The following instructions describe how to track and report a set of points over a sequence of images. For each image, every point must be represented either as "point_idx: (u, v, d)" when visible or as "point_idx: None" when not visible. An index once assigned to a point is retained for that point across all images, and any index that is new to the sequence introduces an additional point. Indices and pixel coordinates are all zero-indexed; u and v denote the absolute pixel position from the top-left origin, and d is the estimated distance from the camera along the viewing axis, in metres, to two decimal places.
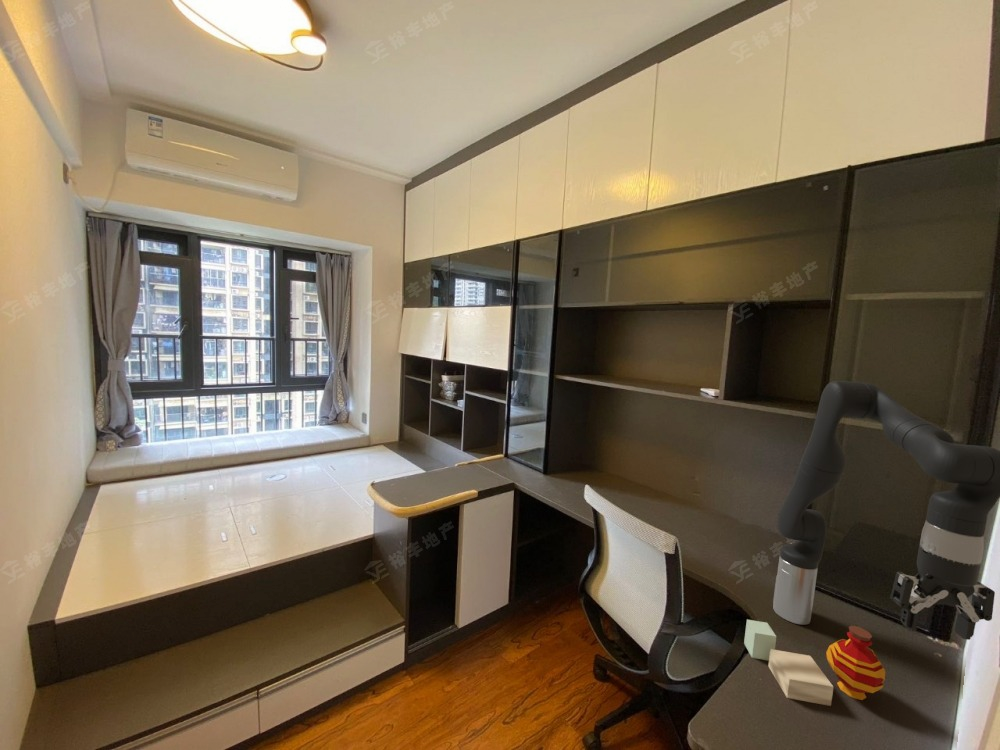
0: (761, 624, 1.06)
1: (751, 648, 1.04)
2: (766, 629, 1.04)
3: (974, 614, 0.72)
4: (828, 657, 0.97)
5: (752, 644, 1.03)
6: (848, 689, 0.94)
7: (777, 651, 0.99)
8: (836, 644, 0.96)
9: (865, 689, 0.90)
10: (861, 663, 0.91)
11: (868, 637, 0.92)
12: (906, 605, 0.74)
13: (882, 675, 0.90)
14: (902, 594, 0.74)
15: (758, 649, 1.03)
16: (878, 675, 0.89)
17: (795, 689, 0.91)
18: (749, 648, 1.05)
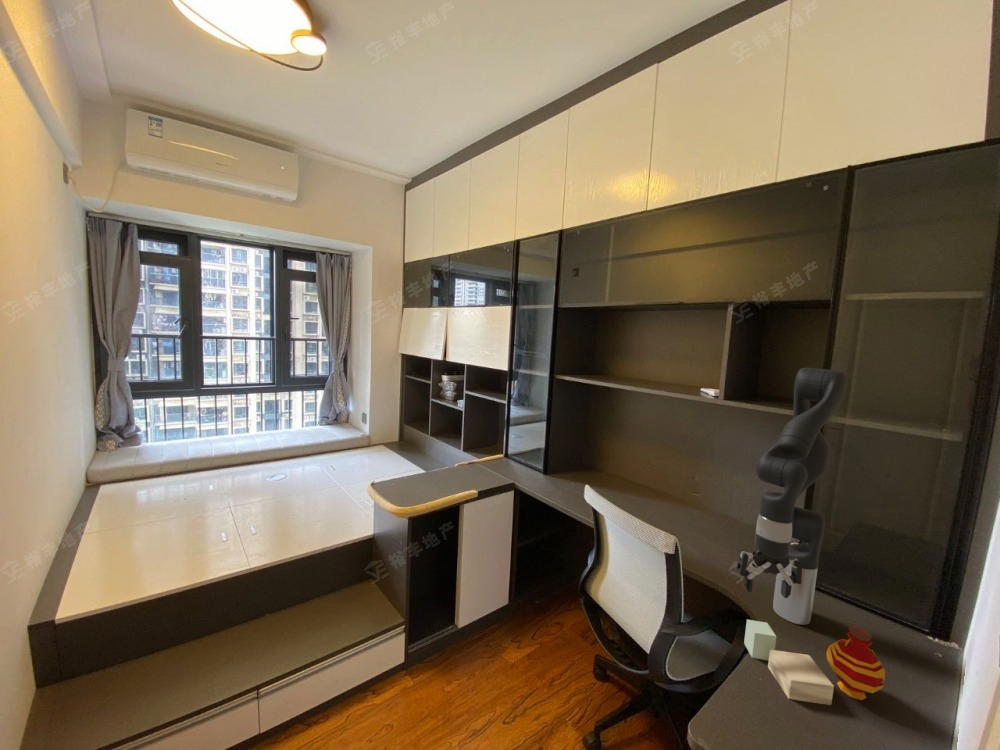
0: (761, 624, 1.06)
1: (751, 648, 1.04)
2: (766, 629, 1.04)
3: (789, 579, 1.01)
4: (828, 657, 0.97)
5: (752, 644, 1.03)
6: (848, 689, 0.94)
7: (776, 651, 0.99)
8: (836, 644, 0.96)
9: (865, 689, 0.90)
10: (861, 663, 0.91)
11: (868, 637, 0.92)
12: (744, 573, 1.03)
13: (882, 675, 0.90)
14: (741, 565, 1.03)
15: (758, 649, 1.03)
16: (878, 675, 0.89)
17: (797, 690, 0.91)
18: (749, 648, 1.05)
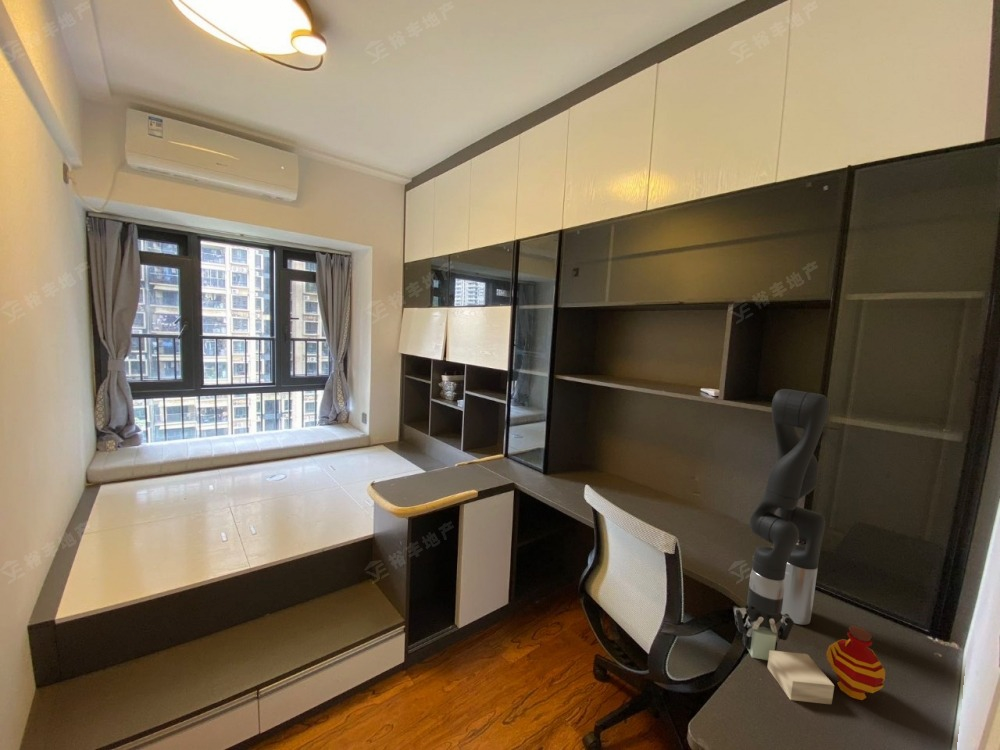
0: None
1: (751, 648, 1.04)
2: (766, 629, 1.04)
3: (776, 635, 1.03)
4: (828, 657, 0.97)
5: (752, 644, 1.03)
6: (848, 689, 0.94)
7: (776, 652, 0.99)
8: (836, 644, 0.96)
9: (865, 689, 0.90)
10: (861, 663, 0.91)
11: (868, 637, 0.92)
12: (743, 631, 1.04)
13: (882, 675, 0.90)
14: (738, 623, 1.04)
15: (758, 649, 1.03)
16: (878, 675, 0.89)
17: (798, 690, 0.91)
18: None
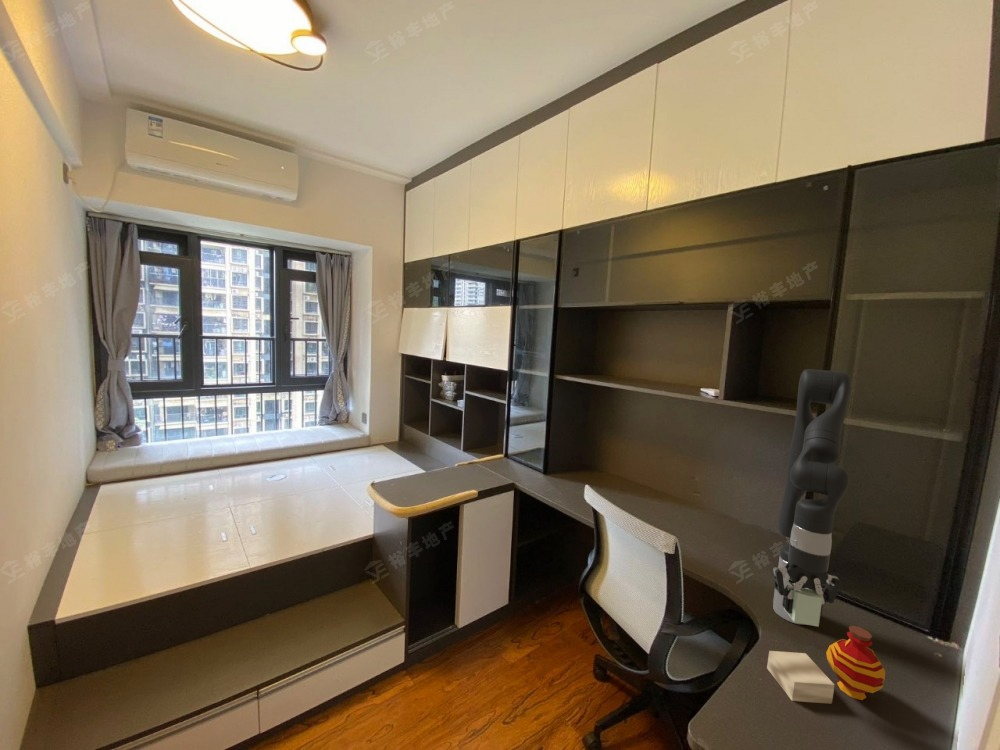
0: None
1: (793, 612, 0.93)
2: (810, 591, 0.93)
3: (822, 598, 0.92)
4: (828, 657, 0.97)
5: (794, 607, 0.93)
6: (848, 689, 0.94)
7: (776, 652, 0.99)
8: (836, 644, 0.96)
9: (865, 689, 0.90)
10: (861, 663, 0.91)
11: (868, 637, 0.92)
12: (784, 592, 0.94)
13: (882, 675, 0.90)
14: (778, 584, 0.94)
15: (802, 613, 0.92)
16: (878, 675, 0.89)
17: (799, 691, 0.91)
18: None
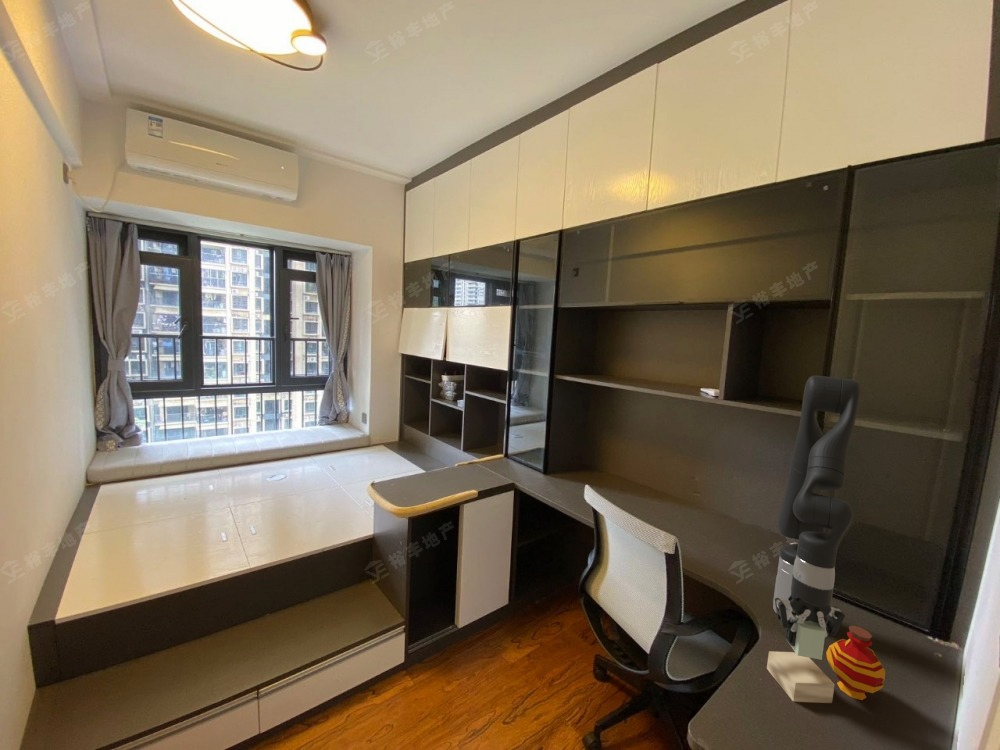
0: None
1: (796, 645, 0.93)
2: (813, 623, 0.93)
3: (825, 630, 0.92)
4: (828, 657, 0.97)
5: (798, 640, 0.93)
6: (848, 689, 0.94)
7: (775, 652, 0.99)
8: (836, 644, 0.96)
9: (865, 689, 0.90)
10: (861, 663, 0.91)
11: (868, 637, 0.92)
12: (787, 625, 0.93)
13: (882, 675, 0.90)
14: (781, 617, 0.94)
15: (805, 646, 0.92)
16: (878, 675, 0.89)
17: (800, 692, 0.91)
18: None
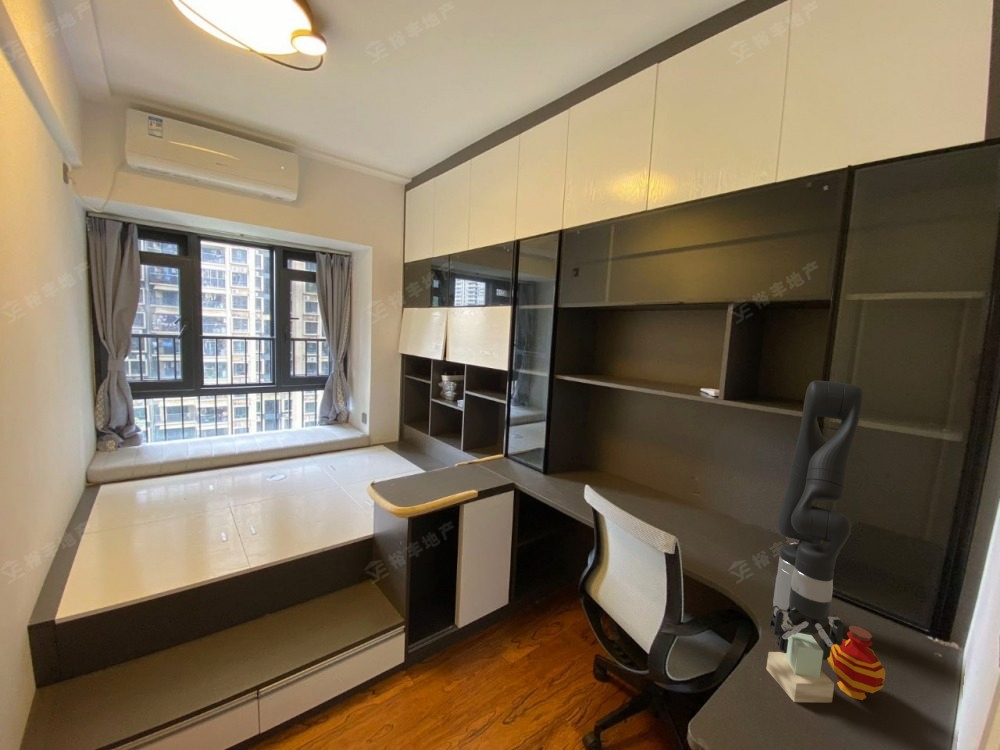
0: (805, 637, 0.95)
1: (794, 663, 0.93)
2: (811, 642, 0.94)
3: (829, 640, 0.92)
4: None
5: (795, 659, 0.93)
6: (848, 689, 0.94)
7: (775, 653, 0.99)
8: (836, 644, 0.96)
9: (865, 689, 0.90)
10: (861, 663, 0.91)
11: (868, 637, 0.92)
12: (778, 632, 0.94)
13: (882, 675, 0.90)
14: (775, 624, 0.94)
15: (802, 665, 0.92)
16: (878, 675, 0.89)
17: (801, 692, 0.91)
18: (791, 663, 0.95)
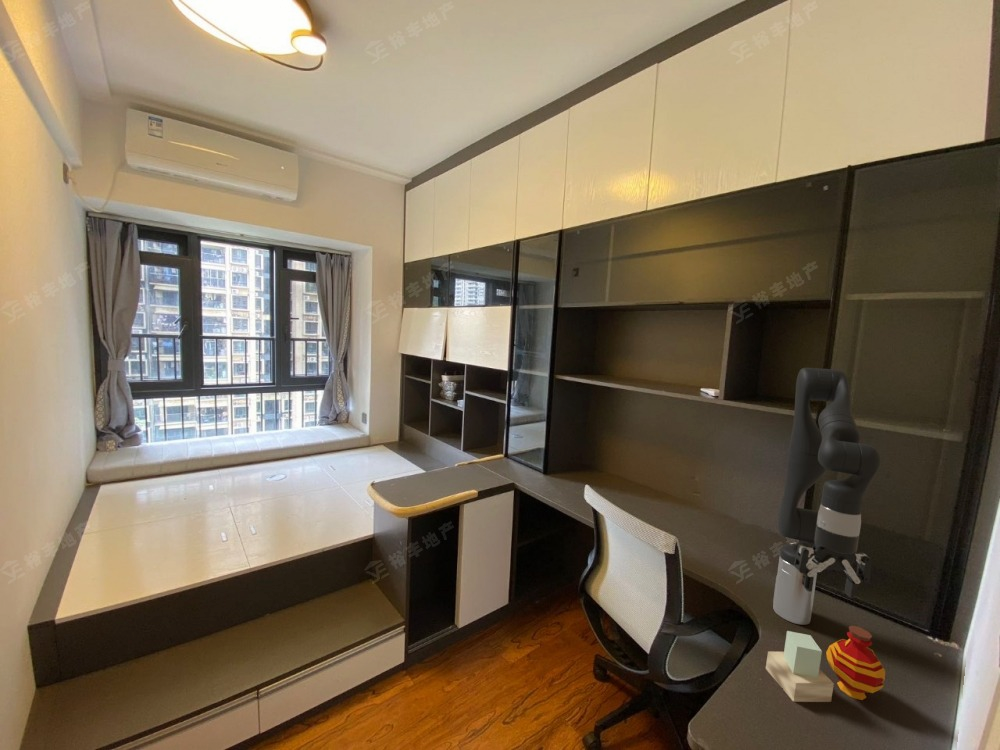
0: (804, 637, 0.95)
1: (792, 663, 0.94)
2: (810, 642, 0.93)
3: (856, 577, 0.90)
4: (828, 657, 0.97)
5: (793, 659, 0.93)
6: (848, 689, 0.94)
7: (774, 653, 0.99)
8: (836, 644, 0.96)
9: (865, 689, 0.90)
10: (861, 663, 0.91)
11: (868, 637, 0.92)
12: (803, 570, 0.92)
13: (882, 675, 0.90)
14: (800, 561, 0.92)
15: (801, 665, 0.92)
16: (878, 675, 0.89)
17: (801, 692, 0.91)
18: (790, 663, 0.95)
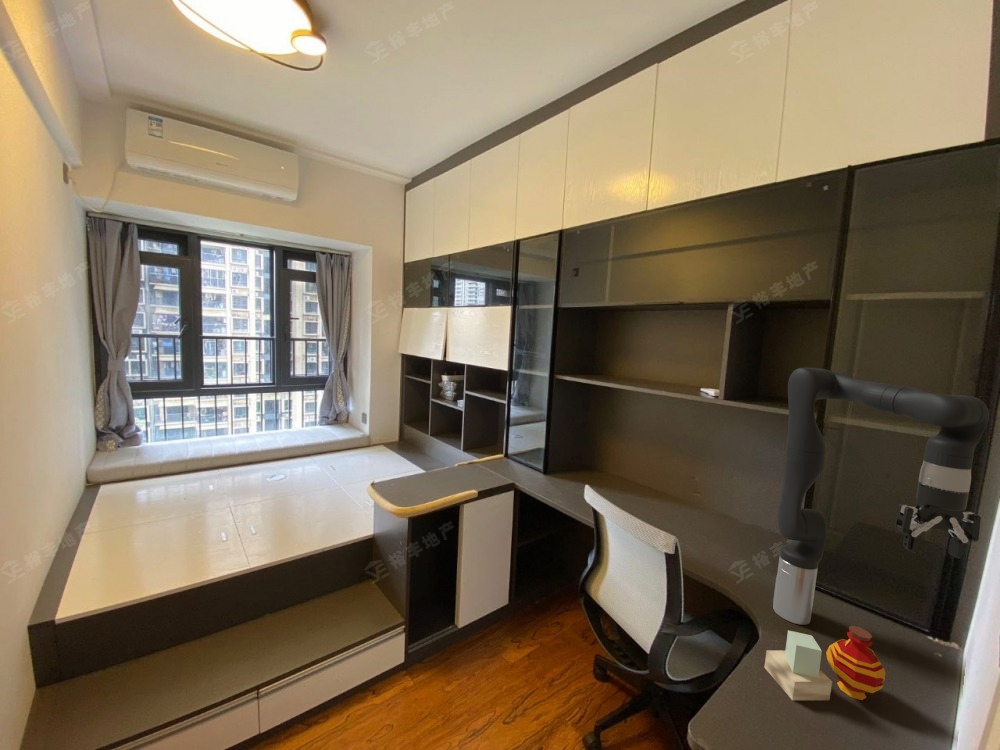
0: (805, 636, 0.95)
1: (792, 662, 0.94)
2: (810, 642, 0.94)
3: (964, 536, 0.87)
4: (828, 657, 0.97)
5: (793, 657, 0.93)
6: (848, 689, 0.94)
7: (773, 651, 0.99)
8: (836, 644, 0.96)
9: (865, 689, 0.90)
10: (861, 663, 0.91)
11: (868, 637, 0.92)
12: (907, 530, 0.89)
13: (882, 675, 0.90)
14: (904, 521, 0.89)
15: (800, 664, 0.93)
16: (878, 675, 0.89)
17: (799, 690, 0.91)
18: (790, 662, 0.95)
